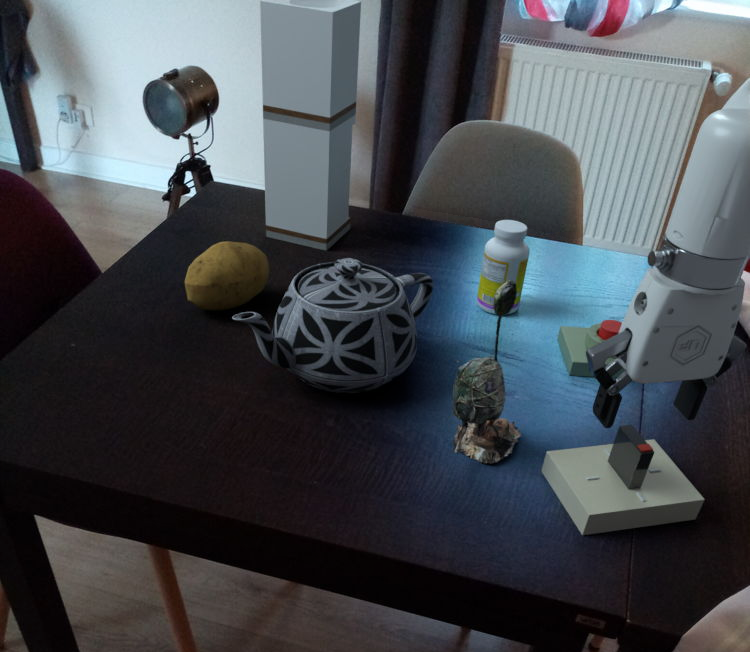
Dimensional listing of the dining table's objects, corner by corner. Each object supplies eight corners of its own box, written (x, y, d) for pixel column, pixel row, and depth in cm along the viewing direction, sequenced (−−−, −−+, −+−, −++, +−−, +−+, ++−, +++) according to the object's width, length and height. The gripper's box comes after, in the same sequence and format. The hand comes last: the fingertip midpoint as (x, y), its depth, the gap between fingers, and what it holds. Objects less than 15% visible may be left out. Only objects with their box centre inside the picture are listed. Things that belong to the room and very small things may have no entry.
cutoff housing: (636, 344, 116) (644, 319, 114) (654, 380, 109) (663, 356, 106) (557, 338, 116) (563, 314, 113) (569, 375, 108) (575, 350, 106)
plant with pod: (422, 441, 95) (443, 289, 81) (491, 413, 100) (521, 266, 87) (467, 478, 90) (496, 322, 77) (536, 447, 95) (575, 296, 82)
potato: (166, 240, 110) (198, 259, 105) (247, 227, 117) (282, 244, 112) (172, 305, 116) (204, 326, 110) (250, 288, 123) (283, 307, 117)
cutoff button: (620, 331, 111) (623, 320, 110) (626, 344, 108) (629, 333, 107) (595, 329, 111) (598, 318, 110) (600, 342, 108) (604, 331, 107)
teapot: (201, 368, 103) (191, 260, 93) (383, 311, 118) (391, 213, 108) (278, 442, 93) (276, 329, 83) (468, 369, 108) (485, 266, 98)
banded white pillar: (350, 228, 141) (361, 1, 117) (326, 250, 133) (332, 12, 110) (292, 215, 143) (292, -9, 120) (266, 236, 136) (260, 0, 112)
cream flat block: (646, 458, 95) (654, 437, 93) (695, 519, 87) (705, 498, 85) (541, 471, 92) (546, 450, 90) (582, 535, 84) (589, 514, 82)
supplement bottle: (510, 295, 125) (526, 216, 117) (523, 316, 120) (541, 235, 112) (470, 296, 124) (483, 216, 115) (482, 317, 119) (496, 235, 111)
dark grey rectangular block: (607, 461, 89) (619, 424, 86) (619, 459, 89) (632, 422, 86) (628, 489, 86) (642, 451, 82) (641, 487, 86) (655, 450, 82)
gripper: (636, 284, 66) (584, 445, 77) (806, 276, 70) (734, 430, 81) (595, 247, 71) (553, 402, 83) (756, 241, 76) (694, 390, 87)
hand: (643, 416), depth 82 cm, fingers open, 9 cm apart
